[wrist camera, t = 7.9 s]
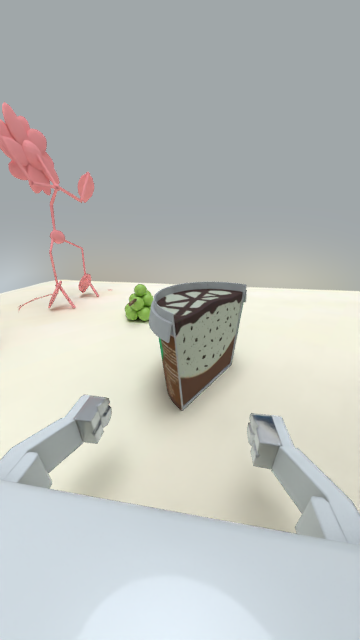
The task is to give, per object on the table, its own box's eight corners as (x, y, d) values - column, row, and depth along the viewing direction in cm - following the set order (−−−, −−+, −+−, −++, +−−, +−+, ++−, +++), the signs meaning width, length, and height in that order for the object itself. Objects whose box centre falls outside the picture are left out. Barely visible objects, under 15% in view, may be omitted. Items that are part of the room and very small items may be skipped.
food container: (199, 342, 28) (203, 276, 24) (237, 359, 24) (248, 283, 20) (130, 386, 20) (117, 297, 16) (170, 421, 16) (166, 315, 12)
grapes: (165, 307, 42) (164, 278, 40) (152, 329, 32) (149, 293, 29) (135, 305, 43) (132, 278, 41) (113, 327, 33) (107, 291, 30)
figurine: (117, 289, 57) (96, 142, 43) (48, 324, 34) (-48, 31, 20) (74, 287, 60) (40, 148, 46) (-18, 317, 37) (-143, 56, 23)
